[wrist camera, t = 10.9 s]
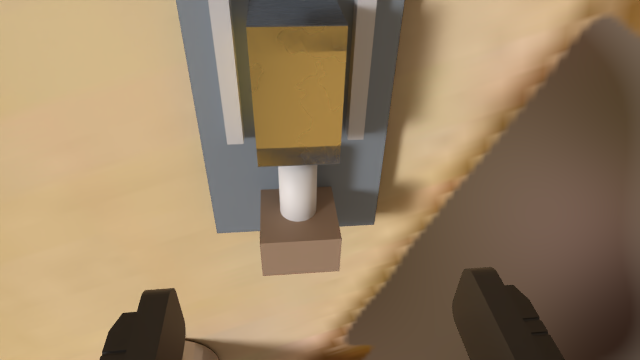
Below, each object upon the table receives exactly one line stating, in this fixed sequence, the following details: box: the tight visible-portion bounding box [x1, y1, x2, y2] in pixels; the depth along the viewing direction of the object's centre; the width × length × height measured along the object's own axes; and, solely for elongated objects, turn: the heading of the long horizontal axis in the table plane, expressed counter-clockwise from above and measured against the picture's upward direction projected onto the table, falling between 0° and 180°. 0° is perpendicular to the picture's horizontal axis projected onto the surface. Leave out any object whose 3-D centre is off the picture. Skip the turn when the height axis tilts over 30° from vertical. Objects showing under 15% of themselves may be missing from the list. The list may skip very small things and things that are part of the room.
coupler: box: [246, 0, 348, 167], centre depth 23 cm, size 8×4×4 cm, turn 179°
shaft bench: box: [176, 0, 405, 276], centre depth 23 cm, size 26×12×7 cm, turn 179°
